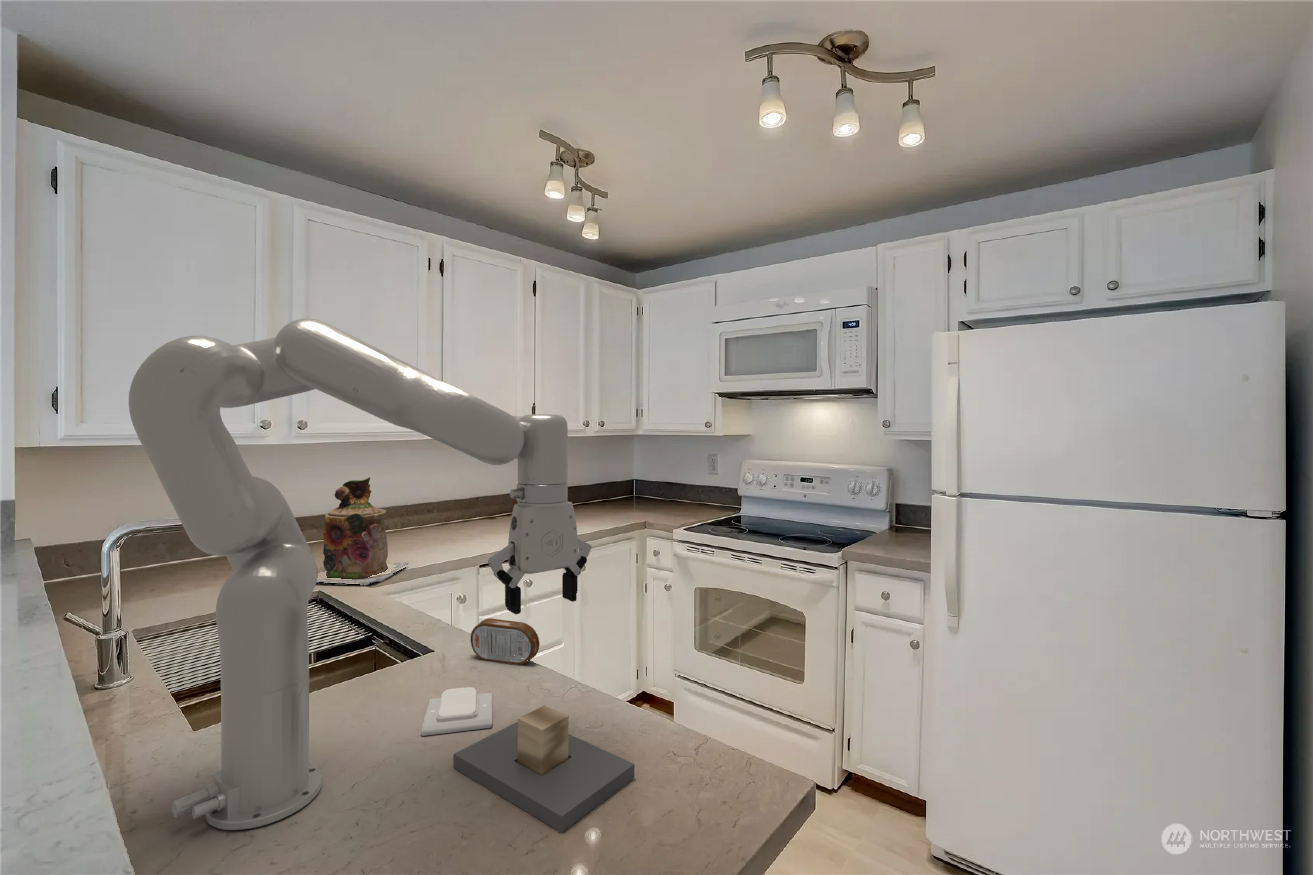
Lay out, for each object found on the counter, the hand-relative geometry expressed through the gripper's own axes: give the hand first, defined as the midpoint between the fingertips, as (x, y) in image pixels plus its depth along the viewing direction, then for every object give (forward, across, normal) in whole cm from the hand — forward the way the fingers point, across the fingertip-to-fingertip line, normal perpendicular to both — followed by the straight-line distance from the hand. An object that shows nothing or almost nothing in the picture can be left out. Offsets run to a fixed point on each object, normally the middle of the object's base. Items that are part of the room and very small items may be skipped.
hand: (542, 605), depth 90 cm
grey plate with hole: (+21, -4, -7) cm, 23 cm away
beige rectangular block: (+22, -4, -7) cm, 23 cm away
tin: (+22, +10, +33) cm, 41 cm away
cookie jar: (+22, +4, +126) cm, 128 cm away
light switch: (+22, -6, +17) cm, 29 cm away
